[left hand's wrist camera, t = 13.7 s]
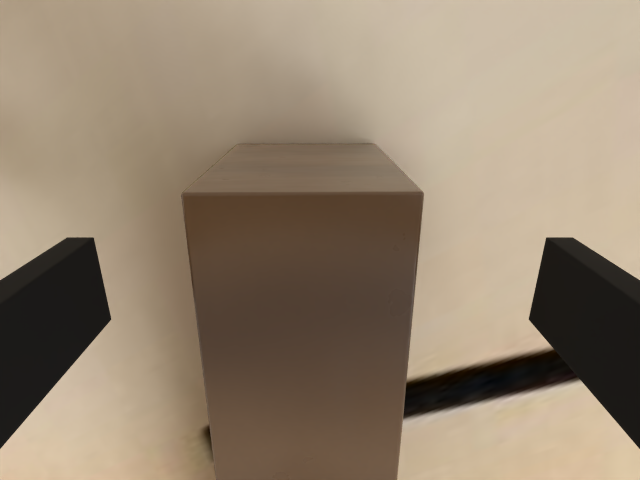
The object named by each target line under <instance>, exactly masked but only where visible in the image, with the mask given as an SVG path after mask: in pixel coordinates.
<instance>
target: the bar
mask: <svg viewBox="0 0 640 480" xmlns="http://www.w3.org/2000/svg"><path fill="white" fill-rule="evenodd" d="M181 197H182V205H183V213H184V221H185V229H186V237H187V246H188V254H189V262H190V270H191V278H192V286H193V295H194V303H195V311H196V319H197V327H198V335H199V344H200V352H201V360H202V368H203V376H204V384H205V392H206V401H207V409H208V417H209V425H210V433H211V441H212V450H213V458H214V466H215V474H216V480H397V475H398V464H399V453H400V443H401V432H402V422H403V411H404V400H405V390H406V379H407V369H408V358H409V347H410V337H411V326H412V316H413V305H414V294H415V284H416V273H417V262H418V252H419V241H420V231H421V220H422V209H423V199H424V193H423V191H422V190H421V189H420V188H419V187H418V186H417V185H416V184H415V183H414V182H413V181H412V180H411V179H410V178H409V177H408V176H407V175H406V174H405V173H404V172H403V171H402V170H401V169H400V168H399V167H398V166H397V165H396V164H395V163H394V162H393V161H392V160H391V159H390V158H389V157H388V156H387V155H386V154H385V153H384V152H383V151H382V150H381V149H380V148H379V147H378V146H377V145H376V144H237V145H236V146H235V147H234V148H232V149H231V150H230V151H229V152H228V153H227V154H226V155H224V156H223V157H222V158H221V159H220V160H219V161H218V162H217V163H215V164H214V165H213V166H212V167H211V168H210V169H209V170H208V171H206V172H205V173H204V174H203V175H202V176H201V177H200V178H199V179H197V180H196V181H195V182H194V183H193V184H192V185H191V186H189V187H188V188H187V189H186V190H185V191H184V192H183V193H182V195H181Z"/></svg>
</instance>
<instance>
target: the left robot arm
mask: <svg viewBox="0 0 640 480" xmlns="http://www.w3.org/2000/svg"><path fill="white" fill-rule="evenodd" d="M110 320H111V316H110V311H109V307H108V302H107V297H106V293H105V288H104V283H103V279H102V274H101V269H100V265H99V260H98V255H97V251H96V246H95V242H94V238H66V239H64V240H63V241H61V242H60V243H58V244H56V245H55V246H53V247H52V248H50V249H49V250H47V251H46V252H44V253H42V254H41V255H39V256H38V257H36V258H35V259H33V260H31V261H30V262H28V263H27V264H25V265H24V266H22V267H21V268H19V269H17V270H16V271H14V272H13V273H11V274H10V275H8V276H6V277H5V278H3V279H2V280H0V449H1V447H2V446H3V445H4V444H5V443H6V442H7V440H8V439H9V438H10V437H11V436H12V435H13V433H14V432H15V431H16V430H17V429H18V428H19V426H20V425H21V424H22V423H23V422H24V421H25V419H26V418H27V417H28V416H29V415H30V414H31V412H32V411H33V410H34V409H35V408H36V407H37V405H38V404H39V403H40V402H41V401H42V400H43V398H44V397H45V396H46V395H47V394H48V393H49V391H50V390H51V389H52V388H53V387H54V386H55V384H56V383H57V382H58V381H59V380H60V379H61V377H62V376H63V375H64V374H65V373H66V372H67V370H68V369H69V368H70V367H71V366H72V365H73V363H74V362H75V361H76V360H77V359H78V358H79V356H80V355H81V354H82V353H83V352H84V351H85V349H86V348H87V347H88V346H89V345H90V344H91V342H92V341H93V340H94V339H95V338H96V337H97V335H98V334H99V333H100V332H101V331H102V330H103V328H104V327H105V326H106V325H107V324H108V323H109V321H110ZM529 320H530V321H531V323H532V324H533V325H534V326H535V327H536V328H537V330H538V331H539V332H540V333H541V334H542V335H543V337H544V338H545V339H546V340H547V341H548V342H549V344H550V345H551V346H552V347H553V348H554V349H555V351H556V352H557V353H558V354H559V355H560V356H561V358H562V359H563V360H564V361H565V362H566V363H567V365H568V366H569V367H570V368H571V369H572V370H573V372H574V373H575V374H576V375H577V376H578V377H579V379H580V380H581V381H582V382H583V383H584V384H585V386H586V387H587V388H588V389H589V390H590V391H591V393H592V394H593V395H594V396H595V397H596V398H597V400H598V401H599V402H600V403H601V404H602V405H603V407H604V408H605V409H606V410H607V411H608V412H609V414H610V415H611V416H612V417H613V418H614V419H615V421H616V422H617V423H618V424H619V425H620V426H621V428H622V429H623V430H624V431H625V432H626V433H627V435H628V436H629V437H630V438H631V439H632V440H633V442H634V443H635V444H636V445H637V446H638V447H639V449H640V280H638V279H637V278H635V277H634V276H632V275H630V274H629V273H627V272H626V271H624V270H623V269H621V268H619V267H618V266H616V265H615V264H613V263H612V262H610V261H609V260H607V259H605V258H604V257H602V256H601V255H599V254H598V253H596V252H594V251H593V250H591V249H590V248H588V247H587V246H585V245H584V244H582V243H580V242H579V241H577V240H576V239H574V238H546V242H545V246H544V251H543V255H542V260H541V265H540V269H539V274H538V279H537V283H536V288H535V293H534V297H533V302H532V307H531V311H530V316H529Z"/></svg>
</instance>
